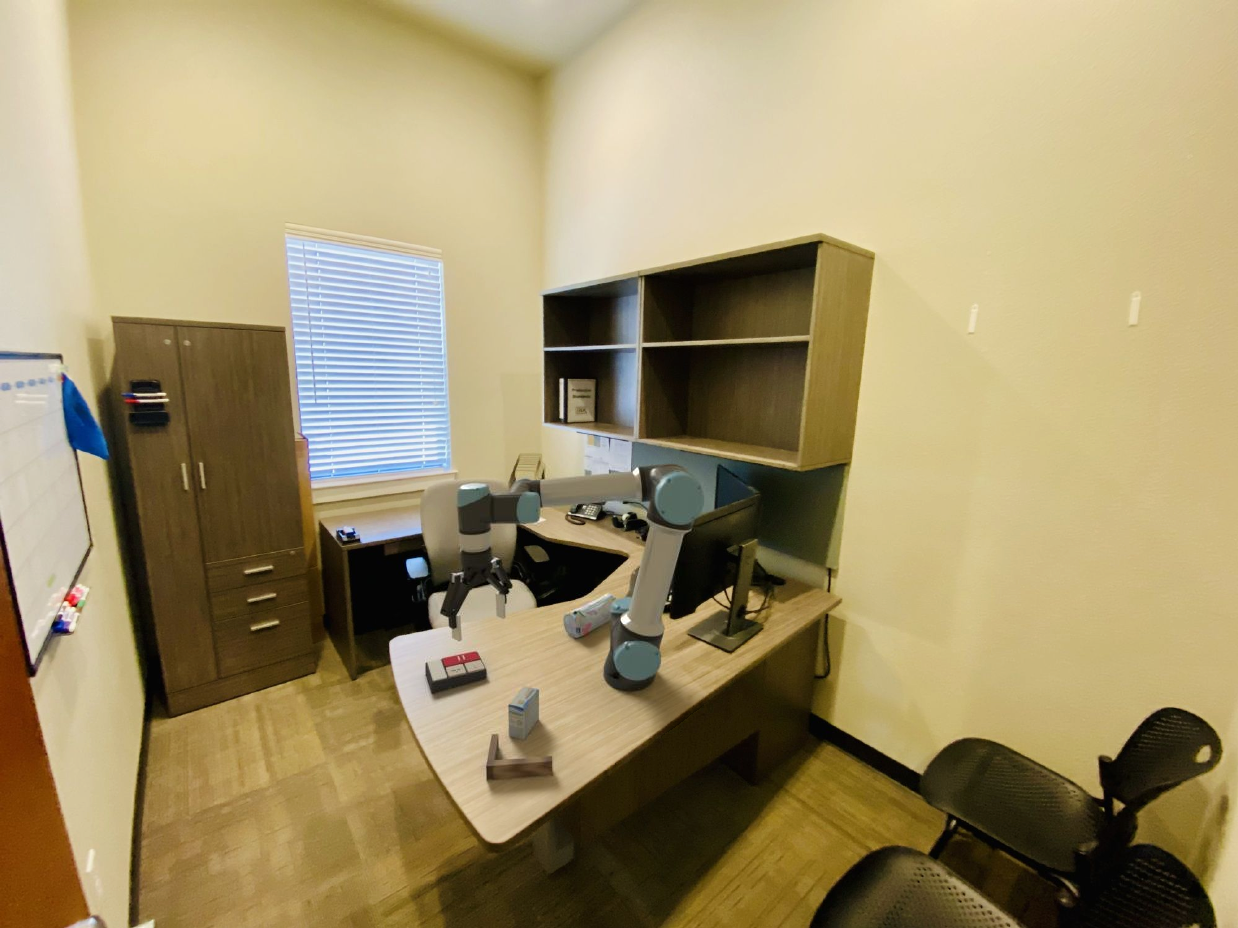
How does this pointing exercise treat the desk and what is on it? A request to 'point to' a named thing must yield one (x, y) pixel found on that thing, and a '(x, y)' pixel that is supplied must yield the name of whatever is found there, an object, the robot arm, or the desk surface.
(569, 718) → the desk surface
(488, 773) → the corner fence
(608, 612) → the pencil case
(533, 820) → the desk surface
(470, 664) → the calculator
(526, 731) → the medicine box
